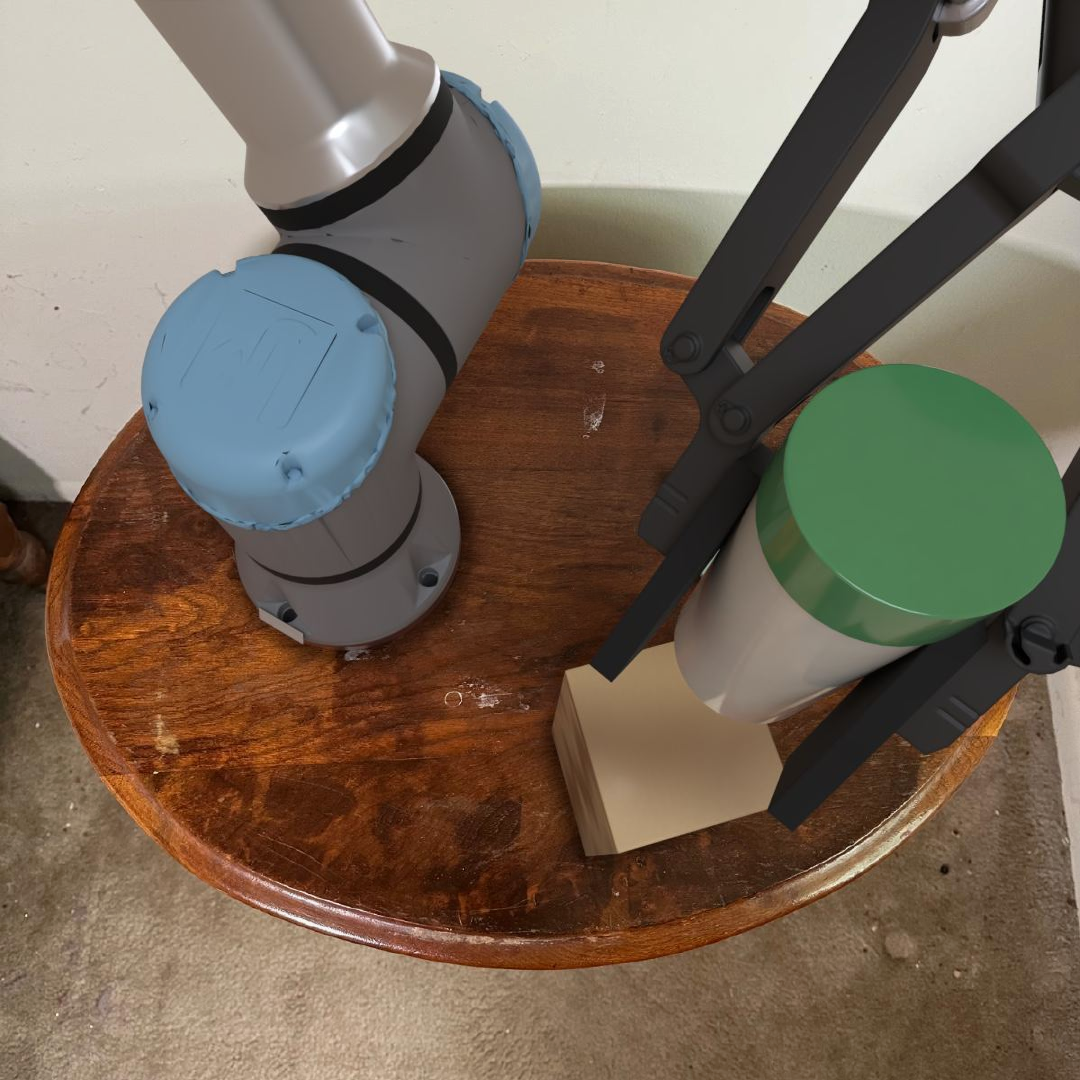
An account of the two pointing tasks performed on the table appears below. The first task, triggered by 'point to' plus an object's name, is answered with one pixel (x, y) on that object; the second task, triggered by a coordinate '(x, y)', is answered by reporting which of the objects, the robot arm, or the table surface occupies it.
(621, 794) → the plinth
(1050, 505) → the cylinder
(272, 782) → the table surface
